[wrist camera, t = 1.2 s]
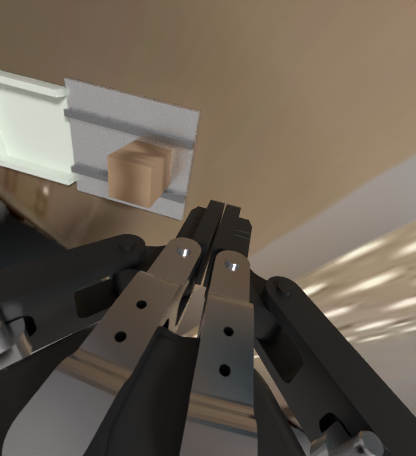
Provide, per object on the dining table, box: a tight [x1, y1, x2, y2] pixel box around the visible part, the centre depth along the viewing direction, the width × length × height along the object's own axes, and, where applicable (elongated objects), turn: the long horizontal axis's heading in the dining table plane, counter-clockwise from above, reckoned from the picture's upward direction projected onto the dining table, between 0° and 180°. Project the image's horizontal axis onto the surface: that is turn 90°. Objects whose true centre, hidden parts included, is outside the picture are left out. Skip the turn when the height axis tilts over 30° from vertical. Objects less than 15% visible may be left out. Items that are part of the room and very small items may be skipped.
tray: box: [0, 70, 76, 185], centre depth 42 cm, size 15×15×3 cm
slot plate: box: [64, 77, 202, 220], centre depth 41 cm, size 20×18×2 cm
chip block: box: [107, 140, 173, 208], centre depth 37 cm, size 6×6×8 cm
